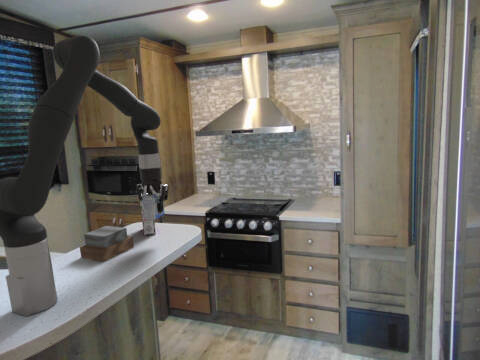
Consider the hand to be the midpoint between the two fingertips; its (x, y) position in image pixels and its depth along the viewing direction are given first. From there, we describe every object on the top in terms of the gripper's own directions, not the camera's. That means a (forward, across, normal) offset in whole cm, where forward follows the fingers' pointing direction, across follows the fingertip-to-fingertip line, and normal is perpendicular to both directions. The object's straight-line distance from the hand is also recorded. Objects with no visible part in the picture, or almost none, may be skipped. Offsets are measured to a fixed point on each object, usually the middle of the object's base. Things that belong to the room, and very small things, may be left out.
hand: (154, 211), depth 127 cm
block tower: (+13, -12, -12) cm, 21 cm away
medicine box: (+2, 0, 0) cm, 2 cm away
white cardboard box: (+12, -14, +12) cm, 22 cm away
